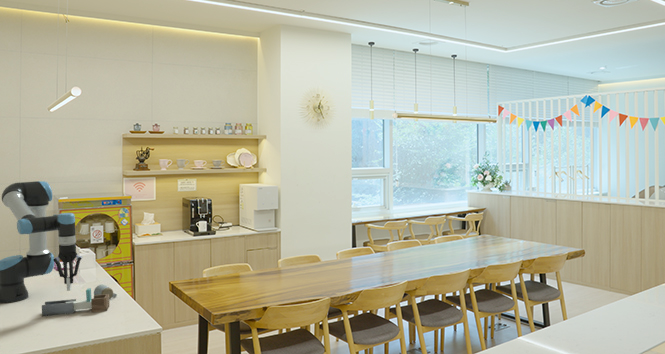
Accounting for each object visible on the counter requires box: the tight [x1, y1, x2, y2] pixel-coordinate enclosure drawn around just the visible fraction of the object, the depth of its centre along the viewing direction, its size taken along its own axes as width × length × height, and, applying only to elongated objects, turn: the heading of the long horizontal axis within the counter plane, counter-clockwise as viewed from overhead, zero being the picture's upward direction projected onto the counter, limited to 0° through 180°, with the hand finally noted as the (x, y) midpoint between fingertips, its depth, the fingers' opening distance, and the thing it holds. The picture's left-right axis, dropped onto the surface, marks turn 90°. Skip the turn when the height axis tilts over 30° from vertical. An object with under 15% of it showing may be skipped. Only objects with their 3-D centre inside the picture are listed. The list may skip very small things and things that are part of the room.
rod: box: [66, 287, 92, 311], centre depth 248 cm, size 4×18×10 cm, turn 106°
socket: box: [91, 294, 110, 313], centre depth 250 cm, size 8×7×6 cm
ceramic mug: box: [93, 284, 118, 300], centre depth 267 cm, size 11×8×8 cm
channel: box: [41, 298, 77, 317], centre depth 245 cm, size 6×14×6 cm, turn 106°
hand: (69, 289), depth 246 cm, fingers closed
